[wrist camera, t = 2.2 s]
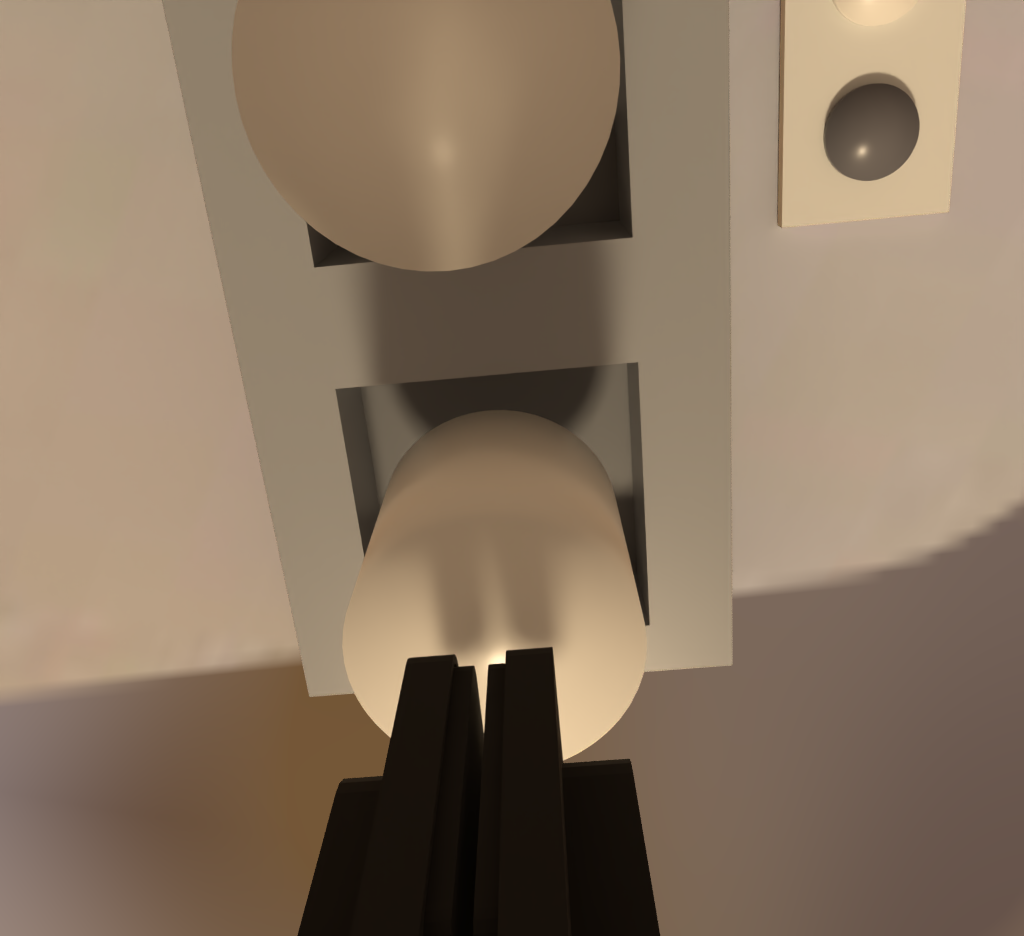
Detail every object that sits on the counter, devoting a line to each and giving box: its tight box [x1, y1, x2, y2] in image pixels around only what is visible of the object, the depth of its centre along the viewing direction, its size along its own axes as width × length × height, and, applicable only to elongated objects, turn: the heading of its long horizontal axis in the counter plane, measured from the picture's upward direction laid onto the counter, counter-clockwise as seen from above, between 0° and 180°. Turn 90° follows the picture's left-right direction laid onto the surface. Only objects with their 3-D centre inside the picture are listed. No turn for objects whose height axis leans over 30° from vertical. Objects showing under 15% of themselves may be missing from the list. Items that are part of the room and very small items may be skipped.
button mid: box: [232, 0, 620, 272], centre depth 11 cm, size 4×4×4 cm
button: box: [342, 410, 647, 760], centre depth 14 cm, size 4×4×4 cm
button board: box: [162, 0, 732, 697], centre depth 15 cm, size 21×8×3 cm, turn 5°
